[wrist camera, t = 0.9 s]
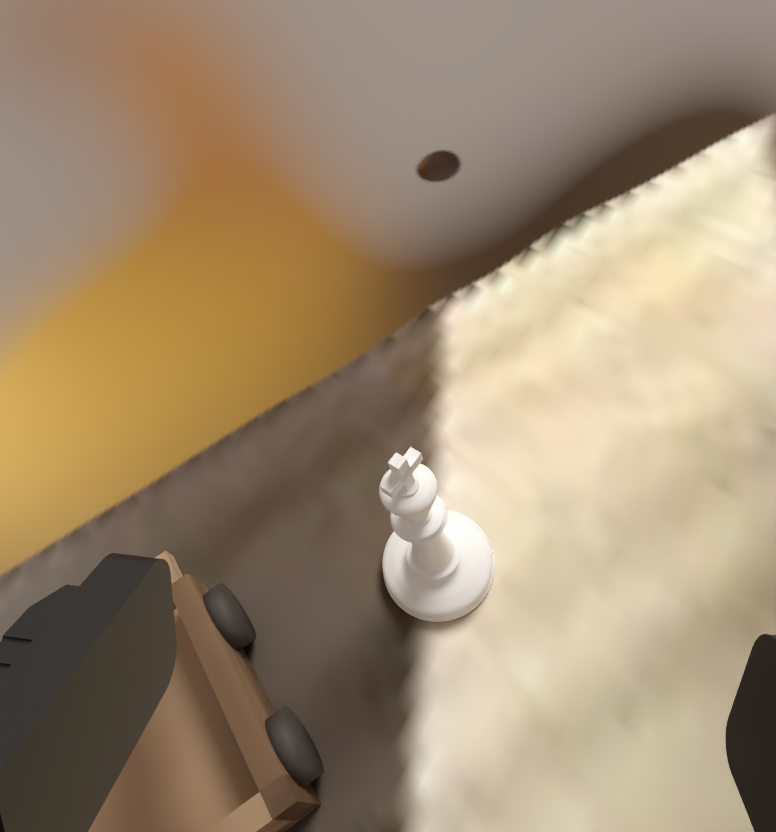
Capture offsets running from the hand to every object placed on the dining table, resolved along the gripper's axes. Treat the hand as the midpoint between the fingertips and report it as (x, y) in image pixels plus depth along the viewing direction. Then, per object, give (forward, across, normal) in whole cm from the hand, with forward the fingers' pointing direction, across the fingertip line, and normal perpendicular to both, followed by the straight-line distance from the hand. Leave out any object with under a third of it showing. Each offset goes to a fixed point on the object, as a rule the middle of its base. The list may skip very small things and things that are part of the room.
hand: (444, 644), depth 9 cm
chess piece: (+18, 0, +11) cm, 21 cm away
